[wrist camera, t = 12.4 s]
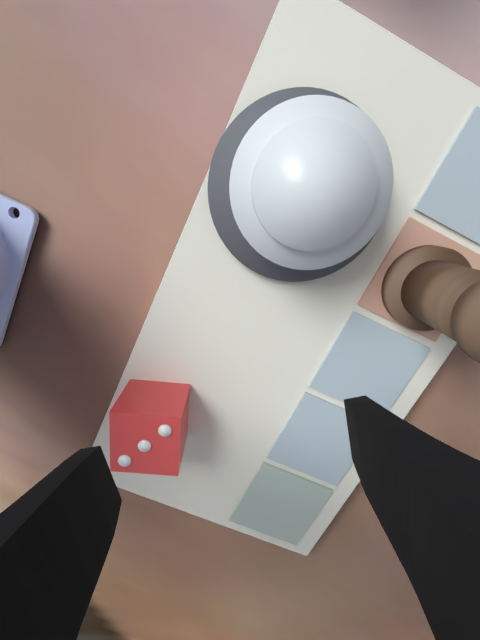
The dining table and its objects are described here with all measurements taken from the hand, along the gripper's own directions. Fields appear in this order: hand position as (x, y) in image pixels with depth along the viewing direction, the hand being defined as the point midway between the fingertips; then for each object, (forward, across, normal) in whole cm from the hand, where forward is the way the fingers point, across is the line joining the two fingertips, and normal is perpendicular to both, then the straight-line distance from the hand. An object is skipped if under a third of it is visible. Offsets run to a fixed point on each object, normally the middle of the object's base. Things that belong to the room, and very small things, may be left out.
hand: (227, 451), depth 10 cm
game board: (+9, -4, 0) cm, 10 cm away
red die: (+8, +5, +3) cm, 10 cm away
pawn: (+8, -10, -1) cm, 13 cm away
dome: (+8, -4, -7) cm, 11 cm away
